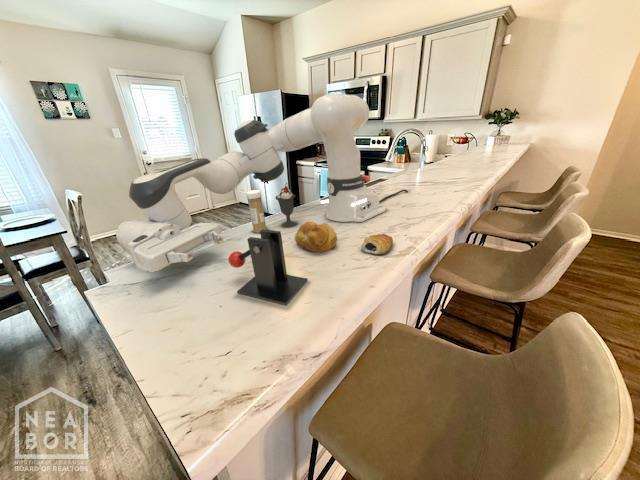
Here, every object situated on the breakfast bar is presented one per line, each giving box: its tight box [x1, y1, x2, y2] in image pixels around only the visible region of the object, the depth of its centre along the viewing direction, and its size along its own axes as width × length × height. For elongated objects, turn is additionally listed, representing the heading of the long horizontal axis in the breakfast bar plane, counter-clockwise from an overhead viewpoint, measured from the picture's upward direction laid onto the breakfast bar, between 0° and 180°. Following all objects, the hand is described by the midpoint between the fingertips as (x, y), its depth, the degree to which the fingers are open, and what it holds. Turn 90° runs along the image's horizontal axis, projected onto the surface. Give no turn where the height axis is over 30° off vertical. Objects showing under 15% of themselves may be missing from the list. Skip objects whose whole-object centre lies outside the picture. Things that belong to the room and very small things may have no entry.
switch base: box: [236, 229, 309, 307], centre depth 54 cm, size 12×9×13 cm
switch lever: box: [227, 234, 276, 269], centre depth 55 cm, size 13×4×4 cm
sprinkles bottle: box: [245, 189, 268, 234], centre depth 86 cm, size 5×5×13 cm
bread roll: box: [294, 221, 338, 254], centre depth 73 cm, size 13×10×8 cm
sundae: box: [275, 181, 297, 228], centre depth 89 cm, size 7×7×15 cm
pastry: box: [360, 233, 394, 255], centre depth 70 cm, size 9×7×4 cm
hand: (206, 247), depth 60 cm, fingers open, 8 cm apart
